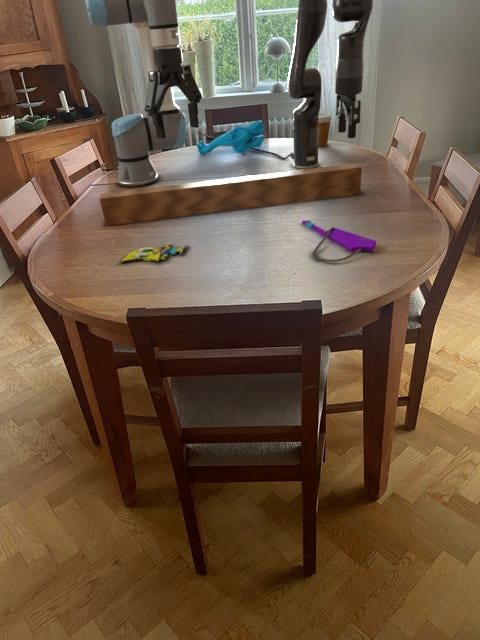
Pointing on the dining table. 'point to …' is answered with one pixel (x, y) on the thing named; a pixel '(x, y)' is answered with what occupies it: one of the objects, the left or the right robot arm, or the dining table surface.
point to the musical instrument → (342, 240)
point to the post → (230, 194)
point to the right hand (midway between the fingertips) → (346, 135)
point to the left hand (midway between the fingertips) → (178, 132)
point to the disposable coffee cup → (323, 129)
